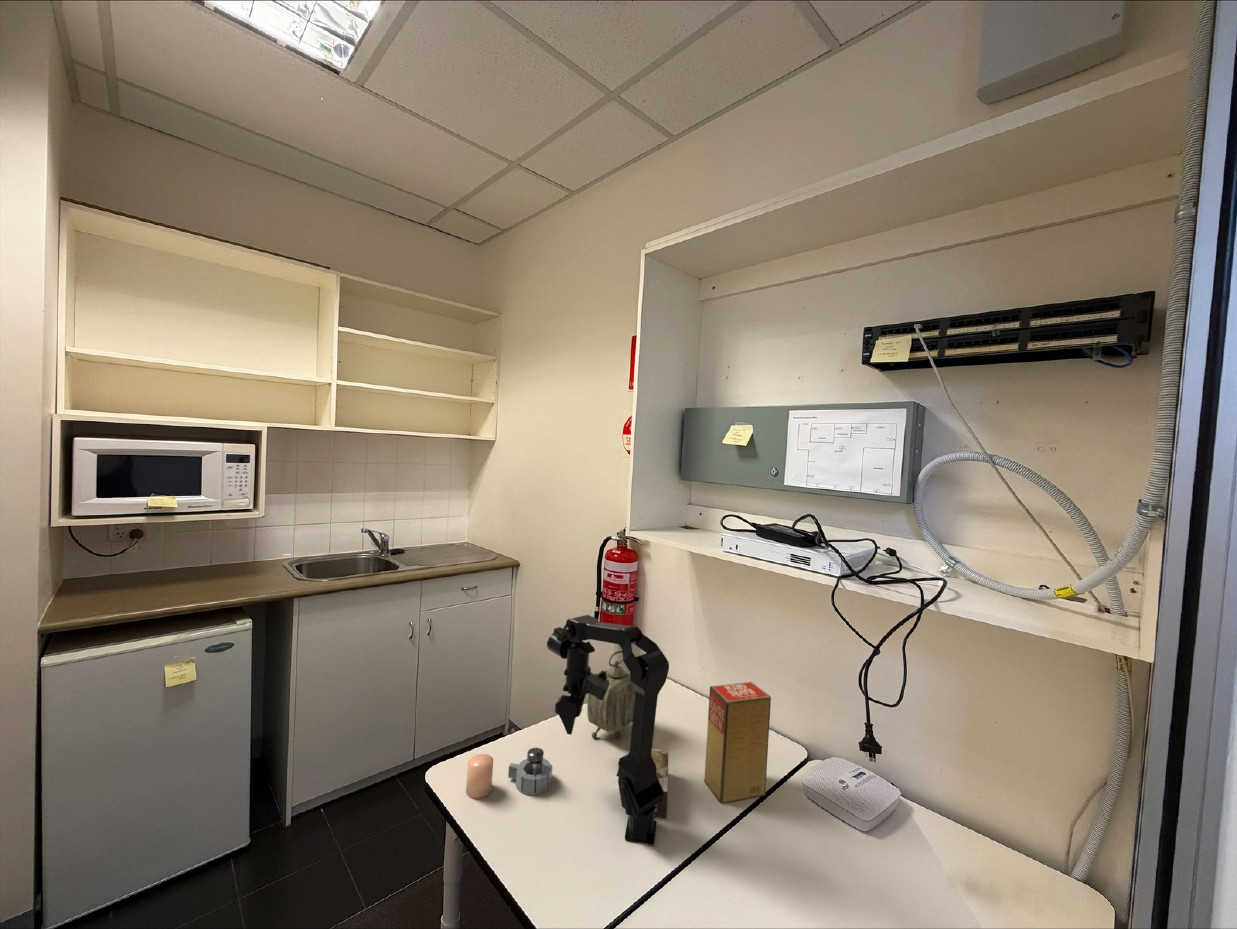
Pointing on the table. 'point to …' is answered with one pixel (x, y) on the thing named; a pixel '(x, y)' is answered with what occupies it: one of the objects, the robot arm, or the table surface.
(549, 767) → the grey octagonal base
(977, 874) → the table surface
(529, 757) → the plunger
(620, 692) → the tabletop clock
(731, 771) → the food packaging
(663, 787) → the coffee box
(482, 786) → the peach rounded cylinder
